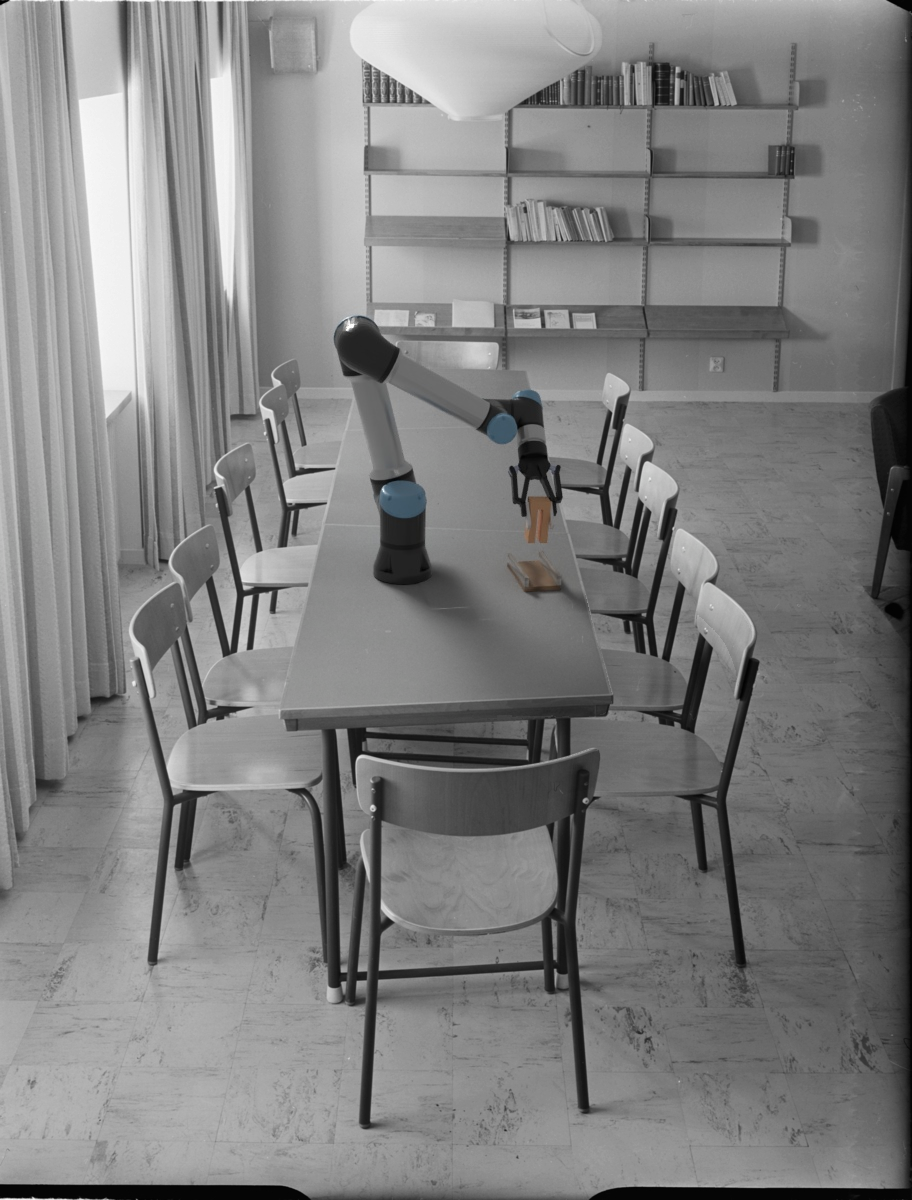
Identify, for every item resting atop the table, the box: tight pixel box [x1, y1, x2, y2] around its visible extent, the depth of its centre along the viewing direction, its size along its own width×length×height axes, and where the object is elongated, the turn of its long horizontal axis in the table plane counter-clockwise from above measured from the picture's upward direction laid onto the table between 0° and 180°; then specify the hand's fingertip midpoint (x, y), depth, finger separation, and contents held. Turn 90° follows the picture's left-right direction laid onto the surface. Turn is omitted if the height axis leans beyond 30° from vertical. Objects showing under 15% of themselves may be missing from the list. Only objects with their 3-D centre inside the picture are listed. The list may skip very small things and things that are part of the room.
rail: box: [506, 551, 563, 593], centre depth 308 cm, size 10×18×4 cm, turn 12°
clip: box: [523, 495, 551, 544], centre depth 303 cm, size 5×4×11 cm
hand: (540, 527), depth 299 cm, fingers closed on clip, 5 cm apart
